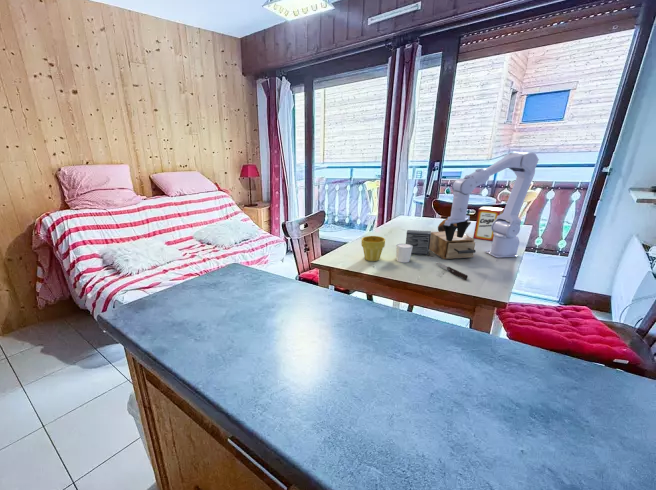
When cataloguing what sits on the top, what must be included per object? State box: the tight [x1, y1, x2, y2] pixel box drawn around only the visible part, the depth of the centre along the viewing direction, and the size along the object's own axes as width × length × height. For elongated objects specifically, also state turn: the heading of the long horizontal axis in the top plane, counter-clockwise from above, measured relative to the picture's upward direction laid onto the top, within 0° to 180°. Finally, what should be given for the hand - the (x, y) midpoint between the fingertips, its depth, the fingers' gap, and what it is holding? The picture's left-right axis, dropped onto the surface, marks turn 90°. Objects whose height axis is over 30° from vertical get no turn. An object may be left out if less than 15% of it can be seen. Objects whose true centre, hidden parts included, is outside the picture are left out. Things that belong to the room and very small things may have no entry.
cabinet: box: [429, 230, 475, 260], centre depth 152 cm, size 15×13×9 cm
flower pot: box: [360, 235, 386, 262], centre depth 151 cm, size 10×10×10 cm
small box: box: [405, 229, 432, 256], centre depth 155 cm, size 11×6×10 cm, turn 65°
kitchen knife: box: [434, 262, 469, 281], centre depth 133 cm, size 18×1×2 cm, turn 12°
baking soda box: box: [472, 206, 505, 242], centre depth 168 cm, size 10×6×16 cm
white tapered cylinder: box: [395, 243, 413, 263], centre depth 147 cm, size 7×7×7 cm
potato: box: [437, 217, 457, 232], centre depth 181 cm, size 8×13×8 cm
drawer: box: [445, 241, 477, 260], centre depth 148 cm, size 18×11×7 cm, turn 1°
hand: (454, 238), depth 142 cm, fingers open, 7 cm apart
